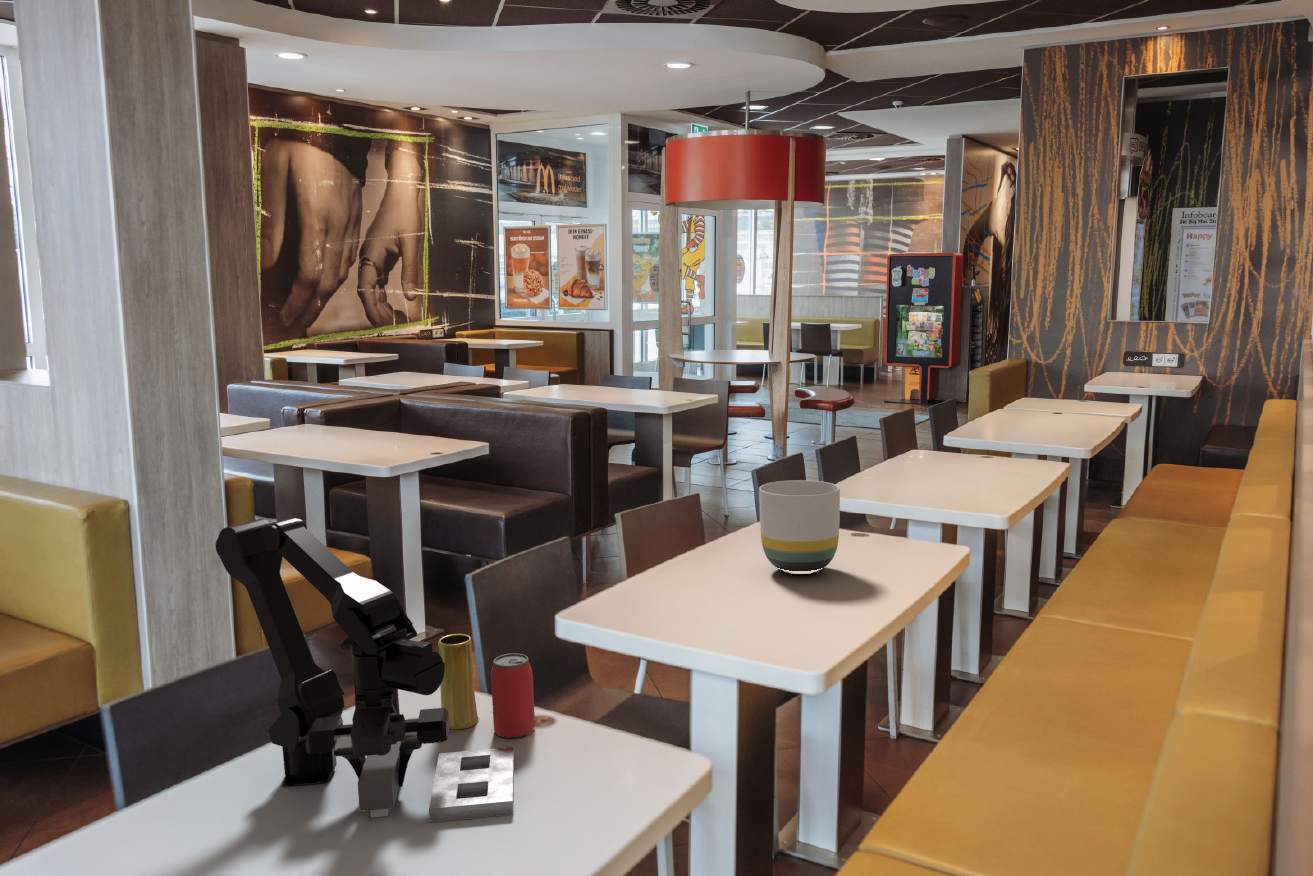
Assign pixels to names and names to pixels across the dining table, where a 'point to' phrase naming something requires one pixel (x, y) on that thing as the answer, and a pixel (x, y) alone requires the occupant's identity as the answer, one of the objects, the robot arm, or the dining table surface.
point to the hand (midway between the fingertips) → (383, 787)
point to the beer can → (512, 695)
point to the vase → (458, 681)
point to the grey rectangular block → (379, 782)
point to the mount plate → (473, 785)
